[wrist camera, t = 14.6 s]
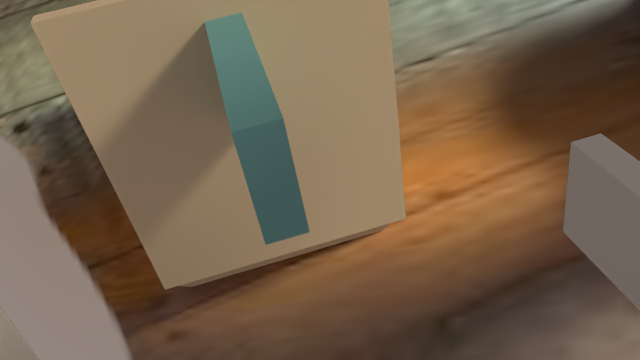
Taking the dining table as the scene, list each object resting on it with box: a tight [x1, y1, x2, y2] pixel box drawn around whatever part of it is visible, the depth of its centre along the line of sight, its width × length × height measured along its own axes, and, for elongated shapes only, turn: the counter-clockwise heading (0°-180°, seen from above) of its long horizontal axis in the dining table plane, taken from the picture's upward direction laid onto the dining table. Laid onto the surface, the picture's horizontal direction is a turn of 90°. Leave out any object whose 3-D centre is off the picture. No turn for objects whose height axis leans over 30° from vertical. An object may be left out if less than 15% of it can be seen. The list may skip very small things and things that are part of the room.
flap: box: [31, 0, 406, 290], centre depth 31 cm, size 20×18×12 cm
